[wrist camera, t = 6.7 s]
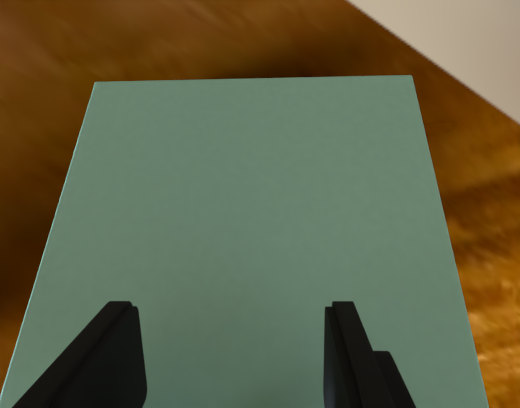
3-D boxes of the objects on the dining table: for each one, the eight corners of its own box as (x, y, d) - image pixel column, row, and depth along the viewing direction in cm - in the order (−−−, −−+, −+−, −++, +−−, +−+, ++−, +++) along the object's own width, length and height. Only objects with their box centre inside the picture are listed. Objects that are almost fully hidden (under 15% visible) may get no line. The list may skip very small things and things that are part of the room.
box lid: (508, 549, 10) (728, 700, 5) (-23, 527, 11) (-275, 641, 6) (407, 87, 17) (456, -30, 13) (101, 93, 18) (37, -15, 13)
